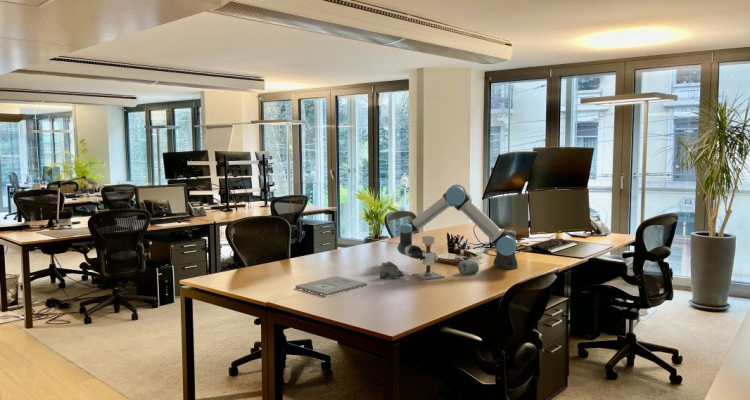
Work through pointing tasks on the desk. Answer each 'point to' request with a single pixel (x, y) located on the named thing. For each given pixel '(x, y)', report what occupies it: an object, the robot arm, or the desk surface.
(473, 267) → the grey oval lump
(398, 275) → the mineral rock
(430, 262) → the sleeve
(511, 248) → the robot arm
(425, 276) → the stand
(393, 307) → the desk surface
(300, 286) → the award plaque
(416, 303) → the desk surface
